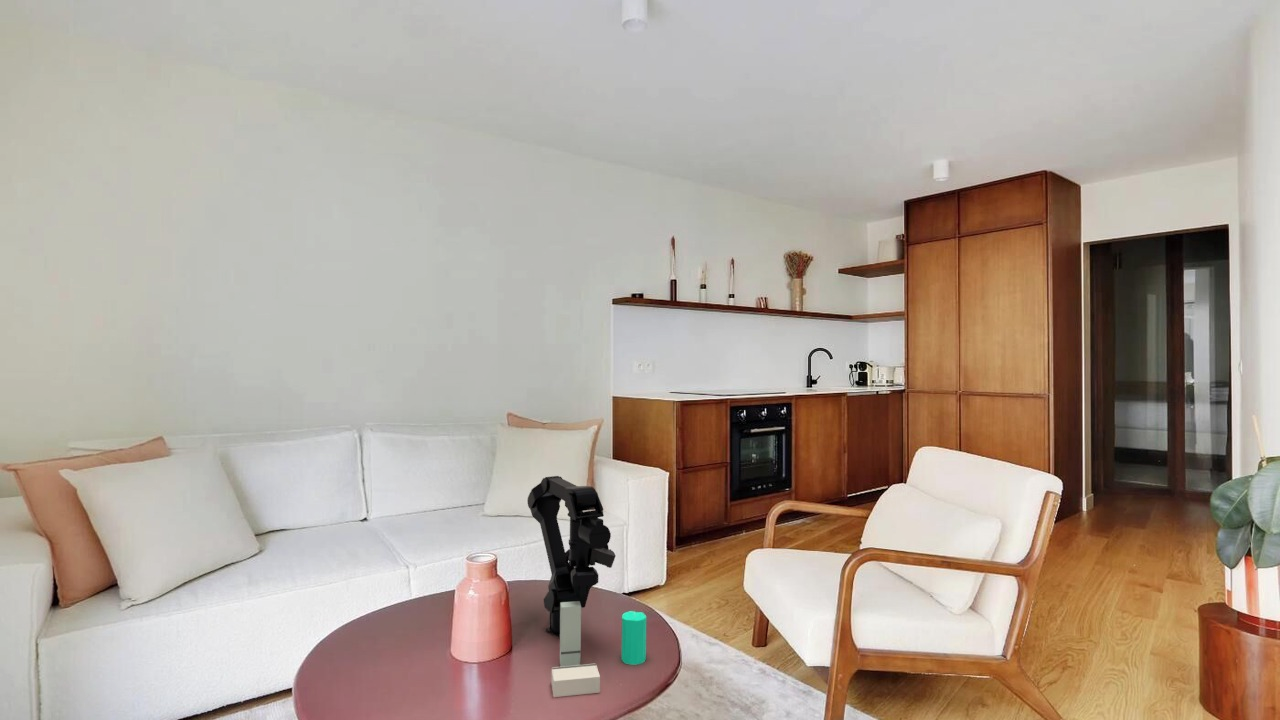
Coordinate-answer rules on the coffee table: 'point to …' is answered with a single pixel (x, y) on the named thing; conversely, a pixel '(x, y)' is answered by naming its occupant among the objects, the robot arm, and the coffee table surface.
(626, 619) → the candle
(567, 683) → the block
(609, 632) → the coffee table surface
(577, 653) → the pale green upright box
